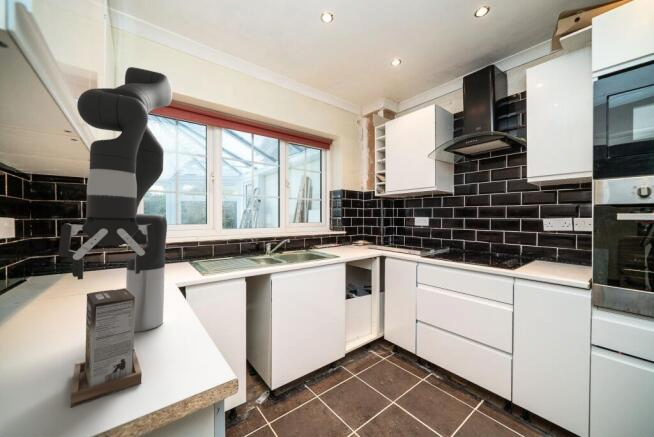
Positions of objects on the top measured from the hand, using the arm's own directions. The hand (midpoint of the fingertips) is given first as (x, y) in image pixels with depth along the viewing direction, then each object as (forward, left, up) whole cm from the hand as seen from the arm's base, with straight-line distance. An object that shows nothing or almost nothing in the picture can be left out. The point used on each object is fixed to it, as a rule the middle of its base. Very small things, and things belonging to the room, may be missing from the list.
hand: (110, 275), depth 50 cm
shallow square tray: (0, 0, -21) cm, 21 cm away
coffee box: (0, 0, -20) cm, 20 cm away
